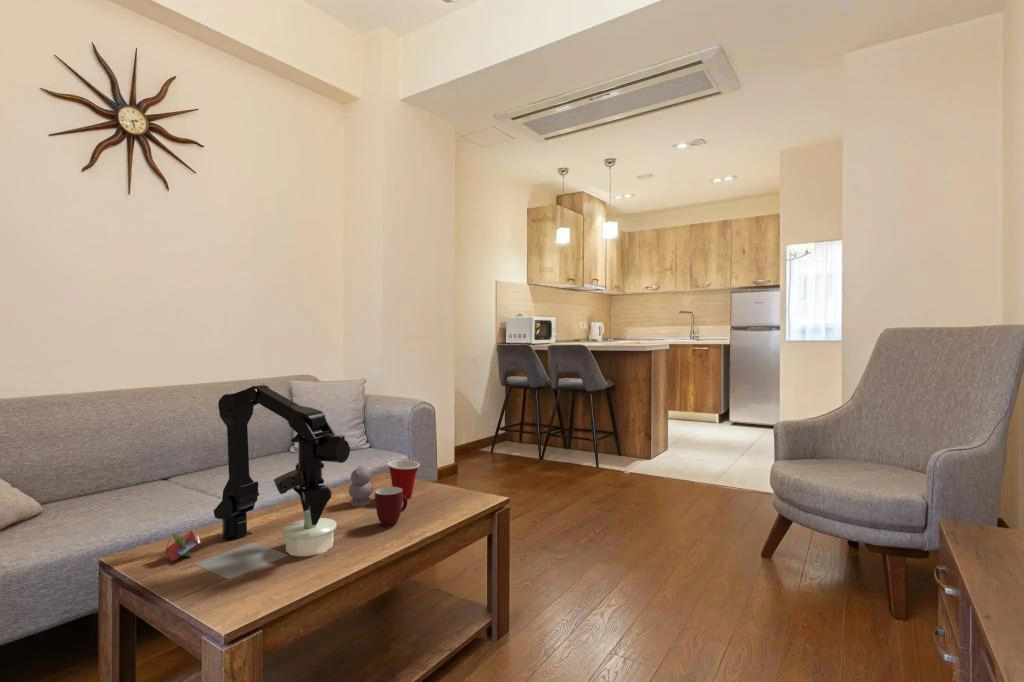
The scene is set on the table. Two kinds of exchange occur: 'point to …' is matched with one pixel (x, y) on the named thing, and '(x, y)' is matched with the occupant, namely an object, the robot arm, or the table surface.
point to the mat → (240, 560)
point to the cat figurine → (360, 486)
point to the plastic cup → (403, 475)
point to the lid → (309, 528)
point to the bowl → (309, 545)
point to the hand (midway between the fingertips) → (310, 519)
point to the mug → (389, 505)
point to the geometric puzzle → (182, 546)
